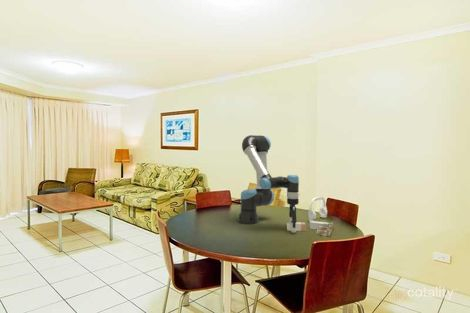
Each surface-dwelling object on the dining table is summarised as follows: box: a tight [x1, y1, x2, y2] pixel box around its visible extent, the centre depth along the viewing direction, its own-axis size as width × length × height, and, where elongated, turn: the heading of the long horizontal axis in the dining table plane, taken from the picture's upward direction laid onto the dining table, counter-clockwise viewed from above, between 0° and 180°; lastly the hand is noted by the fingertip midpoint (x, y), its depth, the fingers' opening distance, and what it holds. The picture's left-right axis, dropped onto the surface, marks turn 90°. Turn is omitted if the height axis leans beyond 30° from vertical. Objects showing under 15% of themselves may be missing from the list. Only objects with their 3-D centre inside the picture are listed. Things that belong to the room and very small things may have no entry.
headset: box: [307, 196, 328, 223], centre depth 221 cm, size 20×7×18 cm, turn 131°
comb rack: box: [316, 221, 334, 238], centre depth 191 cm, size 8×21×5 cm, turn 155°
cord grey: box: [309, 220, 330, 231], centre depth 197 cm, size 12×4×4 cm, turn 65°
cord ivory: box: [286, 221, 307, 232], centre depth 195 cm, size 12×4×4 cm, turn 85°
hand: (292, 229), depth 195 cm, fingers open, 13 cm apart
